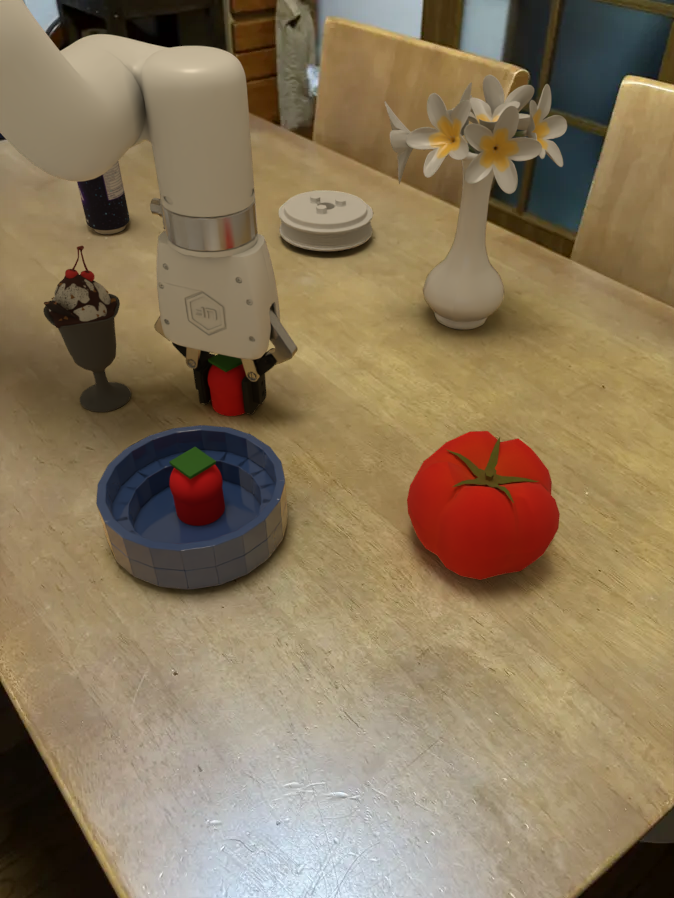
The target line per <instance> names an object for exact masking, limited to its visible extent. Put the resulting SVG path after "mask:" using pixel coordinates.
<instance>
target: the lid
mask: <svg viewBox="0 0 674 898" xmlns="http://www.w3.org/2000/svg"><path fill="white" fill-rule="evenodd" d="M277 214H278V217H279V218H278V219H279V220H280V225H279V235H280V237H281V238H282V239H283V241H285V242H287V243H288V244H290V245H292V246H294V247H297V248H300V249H304V250H309V251H316V252H338V251H344V250H350V249H354V248H357V247H359V246H361V245H363V244H365V243H366V242H367V241H369V240H370V239H371V237H372V236H373V226H372V225H371V223H372V220H373V217H374V211H373V209H372V207H371V206H370V205H369V204H368V203H367V202H366V201H364V200H363V199H362V198H361V197H359V196H357V195H355V194H353V193H349V192H345V191H340V190H329V189H327V190H326V189H319V190H318V189H317V190H309V191H305V192H301V193H298V194H294V195H293V196H291V197H290V198H288V199H287V200H286V201H285V202H284V203H283V204H282V205H281V206H280V207H279V209H278V213H277Z"/></svg>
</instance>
